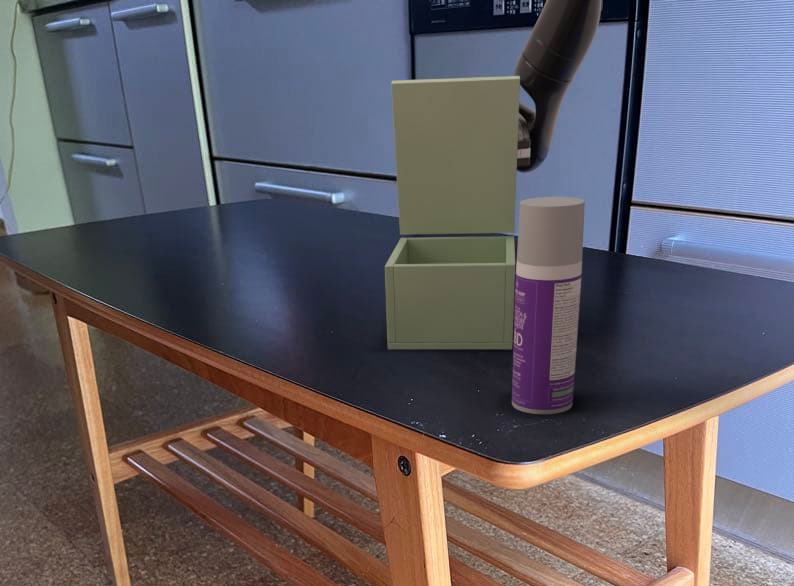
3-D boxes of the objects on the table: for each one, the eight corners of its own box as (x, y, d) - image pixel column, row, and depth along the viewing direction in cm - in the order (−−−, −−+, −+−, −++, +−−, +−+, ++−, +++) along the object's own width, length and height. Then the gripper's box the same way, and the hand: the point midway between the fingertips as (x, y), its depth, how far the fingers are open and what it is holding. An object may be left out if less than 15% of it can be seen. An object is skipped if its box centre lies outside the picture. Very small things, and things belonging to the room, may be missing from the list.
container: (499, 405, 68) (504, 202, 61) (541, 391, 71) (551, 194, 64) (542, 421, 65) (553, 208, 58) (585, 406, 67) (601, 200, 60)
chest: (512, 351, 80) (515, 264, 77) (387, 351, 82) (384, 266, 78) (511, 312, 92) (514, 235, 88) (402, 313, 94) (400, 237, 90)
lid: (519, 78, 78) (519, 75, 78) (391, 83, 79) (391, 80, 80) (514, 233, 88) (514, 229, 89) (400, 234, 89) (400, 231, 90)
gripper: (430, 110, 99) (386, 121, 85) (547, 107, 96) (522, 118, 81) (431, 180, 103) (389, 203, 88) (544, 180, 99) (519, 203, 85)
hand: (452, 162), depth 85 cm, fingers closed
